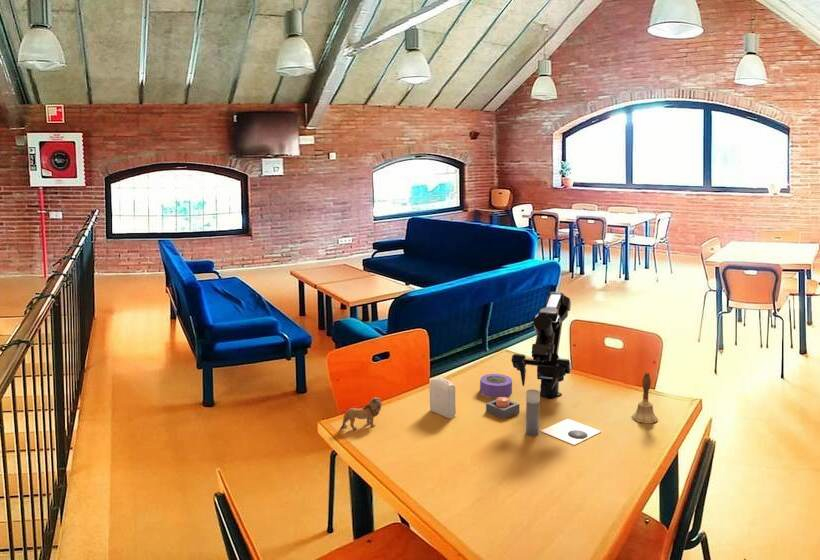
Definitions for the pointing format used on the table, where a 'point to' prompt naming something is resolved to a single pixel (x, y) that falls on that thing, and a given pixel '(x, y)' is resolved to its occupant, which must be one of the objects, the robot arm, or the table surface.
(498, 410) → the button box
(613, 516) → the table surface
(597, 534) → the table surface
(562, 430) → the notepad
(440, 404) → the photo printer
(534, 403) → the marker
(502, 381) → the tape roll
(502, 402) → the button
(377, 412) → the lion figurine
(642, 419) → the hand bell
